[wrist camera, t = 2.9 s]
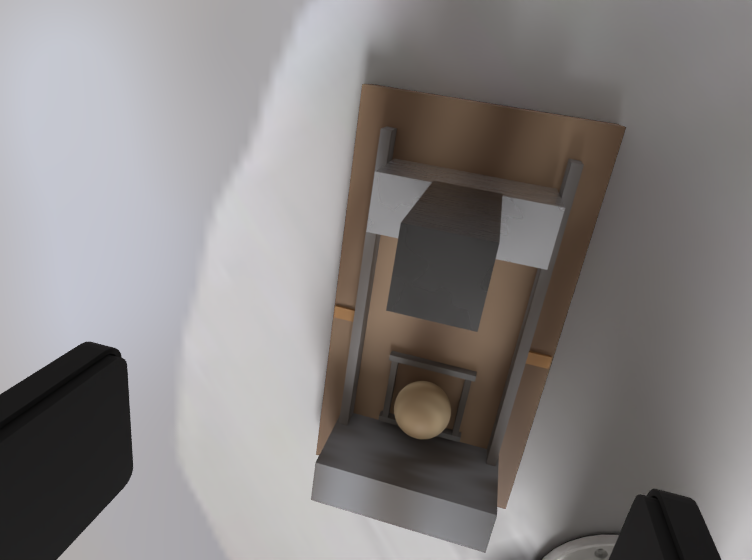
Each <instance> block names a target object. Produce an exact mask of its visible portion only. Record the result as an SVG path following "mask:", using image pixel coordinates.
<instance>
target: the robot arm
mask: <svg viewBox="0 0 752 560" xmlns="http://www.w3.org/2000/svg"><path fill="white" fill-rule="evenodd" d="M131 440H132V439H131V422H130V406H129V390H128V372H127V363H126V361H125V359H123V358H122V357H121V353H120V352H119V350H117V349H116V348H113V347H108V346H105V345H101V344H97V343H93V342H85V343H82V344H80V345H78V346H77V347H75V348H74V349H72V350H70V351H69V352H67V353H66V354H64V355H62V356H61V357H59V358H58V359H56V360H55V361H53V362H51V363H50V364H48V365H47V366H45V367H43V368H42V369H40V370H39V371H37V372H35V373H34V374H32V375H31V376H29V377H27V378H26V379H24V380H23V381H21V382H20V383H18V384H16V385H15V386H13V387H11V388H10V389H8V390H7V391H5V392H3V393H2V394H0V560H57V559H58V557H59V556H60V555H61V554H62V553H63V552H64V551H65V550H66V549H67V548H68V547H69V546H70V545H71V544H72V543H73V541H74V540H75V539H76V538H77V537H78V536H79V535H80V534H81V533H82V532H83V531H84V530H85V529H86V527H87V526H88V525H89V524H90V523H91V522H92V521H93V520H94V519H95V518H96V517H97V516H98V515H99V513H101V511H102V510H103V509H104V508H105V507H106V506H107V505H108V504H109V503H110V502H111V501H112V500H113V499H114V498H115V496H116V495H117V494H118V493H119V492H120V491H121V490H122V489H123V488H124V487H125V485H126V484H127V483H128V481H129V479H130V477H131V475H132V471H133V457H132V441H131ZM542 560H721V558H720V555H719V553H718V551H717V549H716V546H715V544H714V542H713V539H712V537H711V535H710V533H709V530H708V528H707V526H706V524H705V521H704V519H703V517H702V515H701V512H700V510H699V508H698V506H697V504H696V502H695V501H694V500H693V499H691V498H688V497H685V496H681V495H677V494H673V493H669V492H665V491H662V490H658V489H652V490H651V491H650V492H649V493H648V495H647V496H644V495H638V496H636V498H635V500H634V502H633V504H632V506H631V509H630V511H629V513H628V516H627V518H626V520H625V523H624V525H623V527H622V529H621V532H620V534H619V535H596V536H588V537H583V538H579V539H576V540H573V541H569V542H567V543H565V544H563V545H561V546H559V547H557V548H555V549H554V550H552V551H551V552H550V553H549V554H547V555H546V556H545V557H544V558H543V559H542Z"/></svg>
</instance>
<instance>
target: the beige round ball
mask: <svg viewBox="0 0 752 560" xmlns="http://www.w3.org/2000/svg"><path fill="white" fill-rule="evenodd" d="M394 415H395V419H396V422H397V424H398V425H399V427H400V428H401V429H402V431H404V432H405V433H406V434H407V435H409V436H411V437H413V438H416V439H430V438H433V437H435V436H437V435H439V434H440V433H441V432H442V431H443V430H444V429H445V428H446V427H447V425H448V423H449V420H450V416H451V405H450V401H449V399H448V397H447V395H446V393H445V392H444V391H443V390H442V389H441V388H440V387H439V386H437V385H436V384H434V383H431V382H428V381H416V382H413V383H410V384H408V385H407V386H405V387H404V388H403V389H402V390H401V391H400V392H399V394H398V396H397V398H396V400H395V404H394Z"/></svg>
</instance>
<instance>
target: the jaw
mask: <svg viewBox="0 0 752 560" xmlns="http://www.w3.org/2000/svg"><path fill="white" fill-rule="evenodd" d="M564 210H565V206H564V204H563V202H562V199H561V197H560V195H559V193H558V190H557V189H556V188H551V187H545V186H540V185H534V184H529V183H524V182H518V181H513V180H507V179H502V178H497V177H491V176H486V175H480V174H475V173H470V172H464V171H459V170H454V169H448V168H443V167H437V166H432V165H427V164H421V163H416V162H410V161H405V160H400V159H393V160H391V161H390V162H388V163H387V164H385V165H384V166H382V167H381V168H379V169H378V170H376V171H375V175H374V182H373V189H372V196H371V203H370V210H369V217H368V224H367V231H366V232H370V233H375V234H380V235H384V236H389V237H394V238H398V242H397V248H396V254H395V260H394V266H393V272H392V278H391V284H390V290H389V296H388V302H387V308H386V311H390V312H394V313H398V314H403V315H407V316H411V317H415V318H420V319H424V320H428V321H432V322H437V323H441V324H445V325H449V326H454V327H458V328H462V329H466V330H471V331H475V332H478V328H479V324H480V320H481V316H482V312H483V308H484V304H485V300H486V296H487V292H488V288H489V284H490V280H491V276H492V272H493V267H494V263H495V259H498V260H503V261H508V262H512V263H517V264H522V265H526V266H531V267H536V268H541V269H545V270H547V269H548V265H549V262H550V259H551V255H552V252H553V248H554V245H555V241H556V238H557V234H558V231H559V227H560V224H561V221H562V217H563V214H564Z"/></svg>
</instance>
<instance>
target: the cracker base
mask: <svg viewBox="0 0 752 560" xmlns="http://www.w3.org/2000/svg"><path fill="white" fill-rule="evenodd" d="M625 129H626V127H624V126H622V125H619V124H613V123H607V122H601V121H595V120H589V119H583V118H576V117H570V116H564V115H558V114H552V113H546V112H540V111H534V110H527V109H521V108H515V107H509V106H503V105H497V104H491V103H484V102H478V101H472V100H466V99H460V98H454V97H448V96H441V95H435V94H429V93H423V92H417V91H411V90H405V89H398V88H392V87H386V86H380V85H374V84H362V91H361V99H360V107H359V115H358V123H357V131H356V139H355V147H354V155H353V163H352V171H351V179H350V187H349V195H348V203H347V211H346V219H345V227H344V235H343V243H342V251H341V259H340V267H339V275H338V283H337V291H336V299H335V307H334V315H333V323H332V331H331V339H330V347H329V355H328V363H327V371H326V379H325V387H324V395H323V403H322V411H321V419H320V427H319V435H318V443H317V451H316V455H319V457H318V459H317V461H316V464H315V472H314V480H313V488H312V496H311V500H313V501H317V502H320V503H323V504H326V505H330V506H333V507H336V508H340V509H343V510H346V511H350V512H353V513H356V514H359V515H363V516H366V517H369V518H373V519H376V520H379V521H382V522H386V523H389V524H392V525H396V526H399V527H402V528H405V529H409V530H412V531H415V532H419V533H422V534H425V535H429V536H432V537H435V538H438V539H442V540H445V541H448V542H452V543H455V544H458V545H461V546H465V547H468V548H471V549H475V550H478V551H481V552H486V549H487V546H488V543H489V539H490V536H491V533H492V530H493V526H494V523H495V520H496V517H497V507H500V508H504V509H506V506H507V502H508V499H509V496H510V493H511V490H512V487H513V483H514V480H515V477H516V474H517V471H518V468H519V464H520V461H521V458H522V455H523V452H524V449H525V445H526V442H527V439H528V436H529V433H530V430H531V427H532V423H533V420H534V417H535V414H536V411H537V408H538V404H539V401H540V398H541V395H542V392H543V389H544V385H545V382H546V379H547V376H548V373H549V370H550V366H551V363H552V360H553V357H554V354H555V351H556V347H557V344H558V341H559V338H560V335H561V332H562V328H563V325H564V322H565V319H566V316H567V313H568V309H569V306H570V303H571V300H572V297H573V294H574V290H575V287H576V284H577V281H578V278H579V275H580V271H581V268H582V265H583V262H584V259H585V256H586V252H587V249H588V246H589V243H590V240H591V237H592V233H593V230H594V227H595V224H596V221H597V218H598V214H599V211H600V208H601V205H602V202H603V199H604V195H605V192H606V189H607V186H608V183H609V180H610V176H611V173H612V170H613V167H614V164H615V161H616V157H617V154H618V151H619V148H620V145H621V142H622V138H623V135H624V132H625ZM393 159H400V160H405V161H410V162H416V163H421V164H427V165H432V166H437V167H443V168H448V169H454V170H459V171H464V172H470V173H475V174H480V175H486V176H491V177H497V178H502V179H507V180H513V181H518V182H524V183H529V184H534V185H540V186H545V187H551V188H556V189H557V190H558V193H559V195H560V197H561V199H562V202H563V204H564V206H565V210H564V214H563V217H562V221H561V224H560V227H559V231H558V234H557V238H556V241H555V245H554V248H553V252H552V255H551V259H550V262H549V265H548V269H547V270H545V269H541V268H536V267H531V266H526V265H522V264H517V263H512V262H508V261H503V260H498V259H495V263H494V267H493V272H492V276H491V280H490V284H489V288H488V292H487V296H486V300H485V304H484V308H483V312H482V316H481V320H480V324H479V328H478V332H475V331H471V330H466V329H462V328H458V327H454V326H449V325H445V324H441V323H437V322H432V321H428V320H424V319H420V318H415V317H411V316H407V315H403V314H398V313H394V312H390V311H386V308H387V302H388V296H389V290H390V284H391V278H392V272H393V266H394V260H395V254H396V248H397V242H398V238H394V237H389V236H384V235H380V234H375V233H370V232H366V231H367V224H368V217H369V210H370V203H371V196H372V189H373V182H374V175H375V171H376V170H378V169H379V168H381V167H382V166H384V165H385V164H387V163H388V162H390V161H391V160H393ZM416 381H428V382H431V383H434V384H436V385H437V386H439V387H440V388H441V389H442V390H443V391H444V392H445V393H446V395H447V397H448V399H449V401H450V405H451V416H450V420H449V423H448V425H447V427H446V428H445V429H444V430H443V431H442V432H441V433H440V434H439V435H437V436H435V437H433V438H430V439H416V438H413V437H411V436H409V435H407V434H406V433H405V432H404V431H402V429H401V428H400V427H399V425H398V424H397V422H396V419H395V415H394V404H395V400H396V398H397V396H398V394H399V392H400V391H401V390H402V389H403V388H404V387H405V386H407V385H408V384H410V383H413V382H416Z"/></svg>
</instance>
